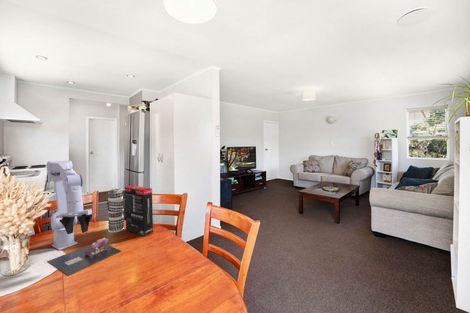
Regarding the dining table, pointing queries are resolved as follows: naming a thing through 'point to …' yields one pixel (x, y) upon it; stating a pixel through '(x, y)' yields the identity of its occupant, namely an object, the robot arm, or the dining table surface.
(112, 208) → the decorative candle
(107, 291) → the dining table surface
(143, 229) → the graphics card box
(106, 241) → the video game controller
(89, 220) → the robot arm
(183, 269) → the dining table surface
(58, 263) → the panel
